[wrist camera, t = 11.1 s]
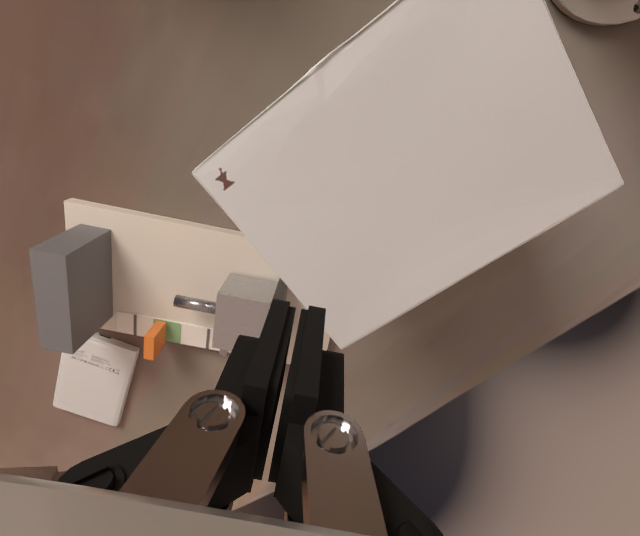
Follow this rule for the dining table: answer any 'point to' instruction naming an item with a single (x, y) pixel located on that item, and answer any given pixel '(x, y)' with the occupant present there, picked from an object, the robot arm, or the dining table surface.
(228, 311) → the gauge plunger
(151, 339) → the small orange block
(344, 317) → the supplement box
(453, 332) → the dining table surface
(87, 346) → the external hard drive
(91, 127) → the dining table surface
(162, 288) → the base
